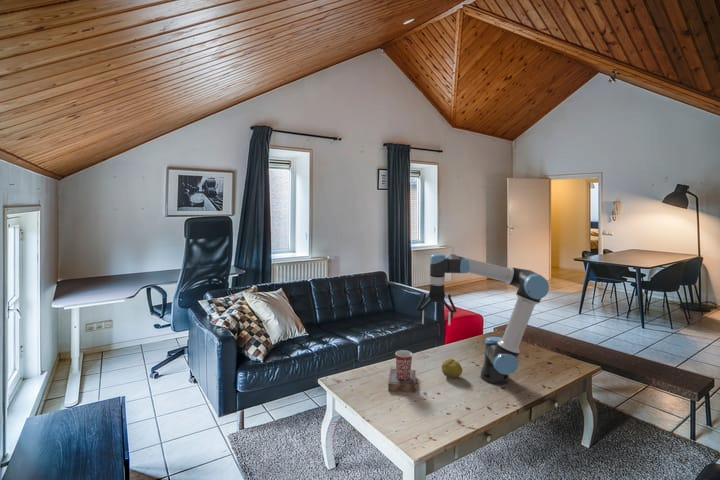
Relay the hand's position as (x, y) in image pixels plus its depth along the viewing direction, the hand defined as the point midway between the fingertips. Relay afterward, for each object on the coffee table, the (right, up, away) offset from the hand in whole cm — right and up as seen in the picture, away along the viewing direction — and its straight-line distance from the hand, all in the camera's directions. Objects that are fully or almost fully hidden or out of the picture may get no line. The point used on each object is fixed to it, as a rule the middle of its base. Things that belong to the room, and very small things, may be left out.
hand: (436, 323), depth 202 cm
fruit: (+12, -34, +15) cm, 39 cm away
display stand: (-17, -34, +7) cm, 39 cm away
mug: (-17, -30, +7) cm, 35 cm away
